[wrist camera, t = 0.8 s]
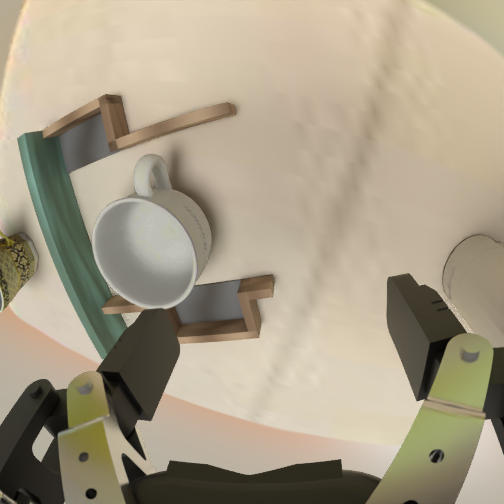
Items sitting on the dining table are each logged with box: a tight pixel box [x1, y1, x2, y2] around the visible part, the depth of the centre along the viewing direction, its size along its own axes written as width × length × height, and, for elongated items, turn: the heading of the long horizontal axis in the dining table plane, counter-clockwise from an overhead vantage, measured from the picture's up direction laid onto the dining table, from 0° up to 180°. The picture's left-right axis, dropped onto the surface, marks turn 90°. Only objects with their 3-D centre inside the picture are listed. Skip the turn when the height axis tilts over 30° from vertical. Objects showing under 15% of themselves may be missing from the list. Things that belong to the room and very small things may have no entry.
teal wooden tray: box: [17, 94, 274, 359], centre depth 29 cm, size 23×29×6 cm
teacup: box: [92, 154, 212, 309], centre depth 27 cm, size 14×11×8 cm
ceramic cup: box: [0, 231, 38, 313], centre depth 31 cm, size 13×10×10 cm
